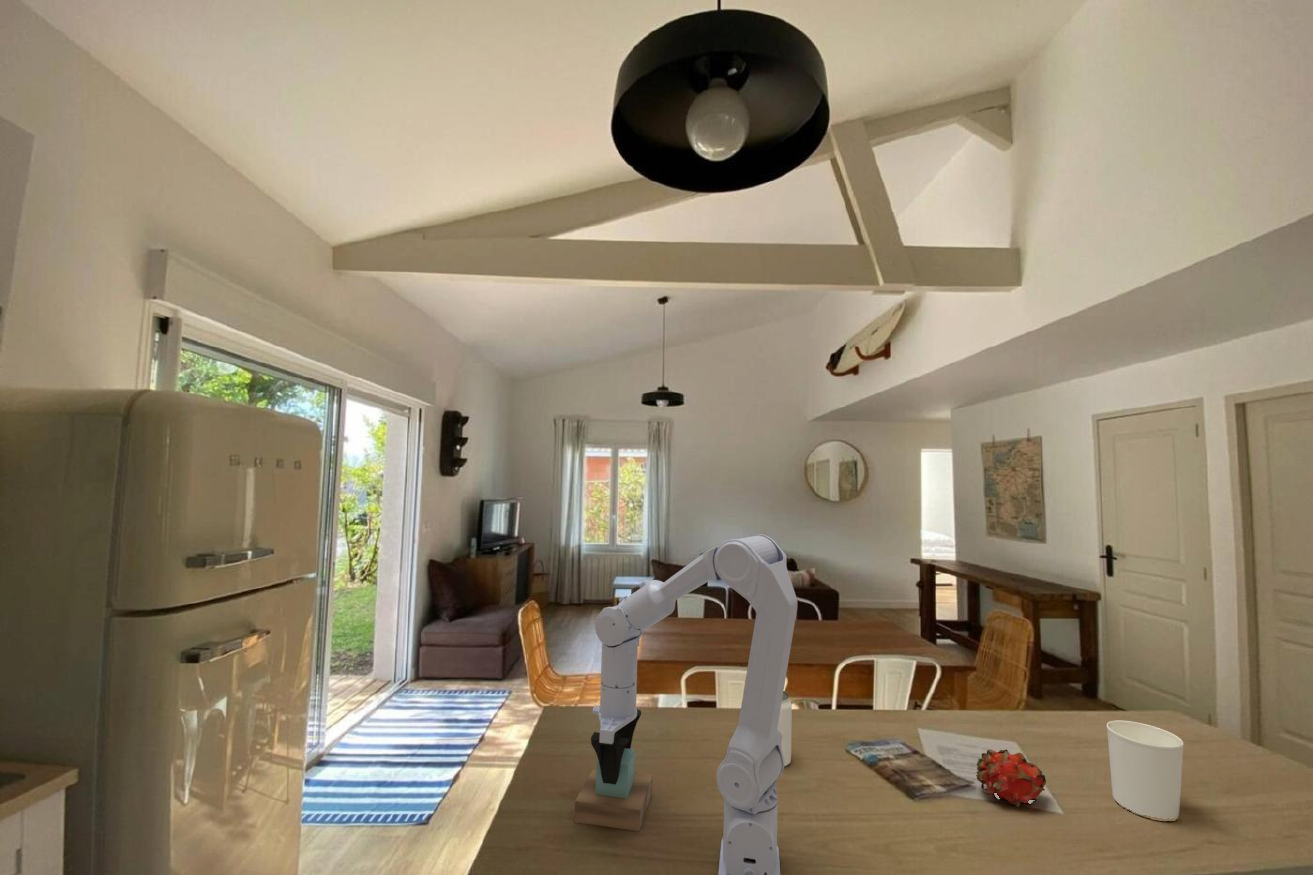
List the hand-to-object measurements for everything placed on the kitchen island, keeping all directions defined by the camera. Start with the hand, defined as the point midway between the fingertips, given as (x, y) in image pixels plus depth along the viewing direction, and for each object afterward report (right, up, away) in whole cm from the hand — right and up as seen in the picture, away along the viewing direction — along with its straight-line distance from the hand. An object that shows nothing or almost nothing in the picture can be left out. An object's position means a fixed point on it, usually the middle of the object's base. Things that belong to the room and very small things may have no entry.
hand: (615, 769), depth 91 cm
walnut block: (0, -6, 0) cm, 6 cm away
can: (+28, -8, +16) cm, 33 cm away
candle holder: (+87, -9, +4) cm, 87 cm away
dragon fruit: (+66, -8, +6) cm, 66 cm away
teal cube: (0, -3, 0) cm, 3 cm away
